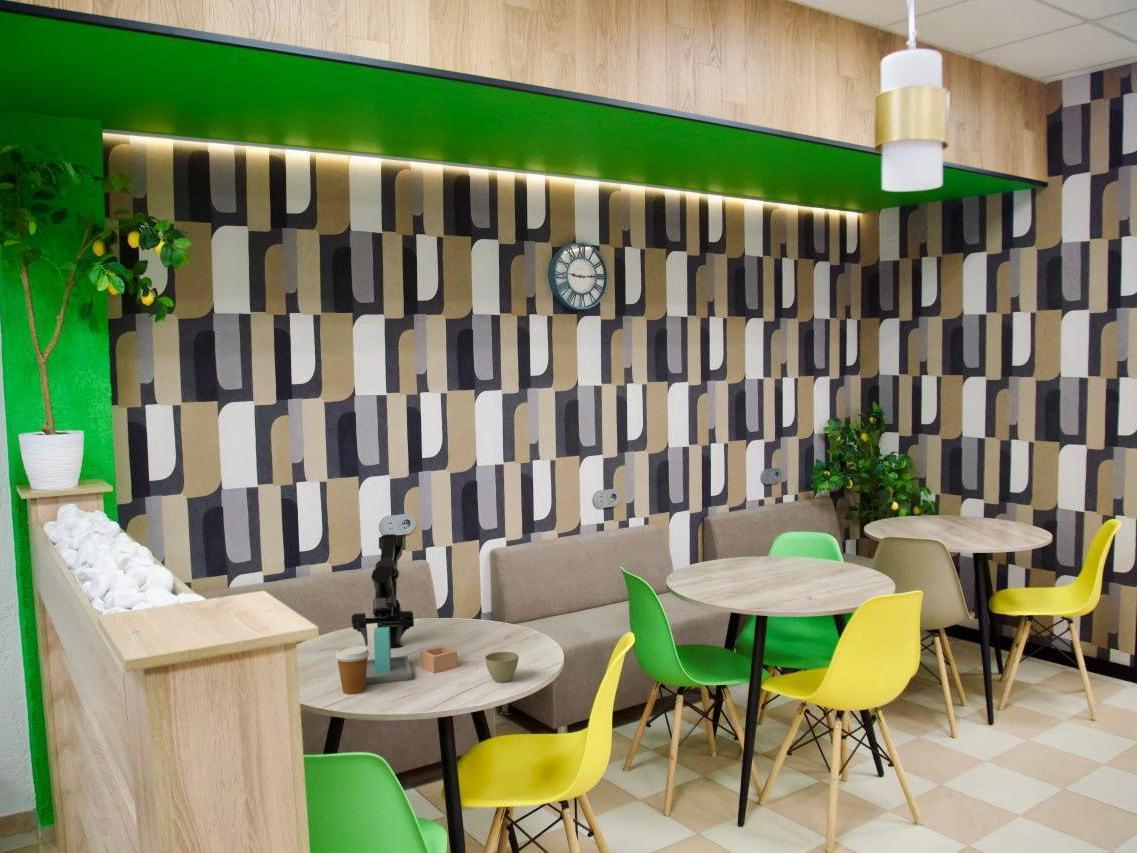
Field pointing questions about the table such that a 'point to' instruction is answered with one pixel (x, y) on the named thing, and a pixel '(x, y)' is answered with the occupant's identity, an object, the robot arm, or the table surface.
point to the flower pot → (502, 665)
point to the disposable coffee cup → (353, 668)
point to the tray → (397, 672)
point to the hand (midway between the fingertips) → (381, 644)
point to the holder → (438, 659)
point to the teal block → (382, 649)
